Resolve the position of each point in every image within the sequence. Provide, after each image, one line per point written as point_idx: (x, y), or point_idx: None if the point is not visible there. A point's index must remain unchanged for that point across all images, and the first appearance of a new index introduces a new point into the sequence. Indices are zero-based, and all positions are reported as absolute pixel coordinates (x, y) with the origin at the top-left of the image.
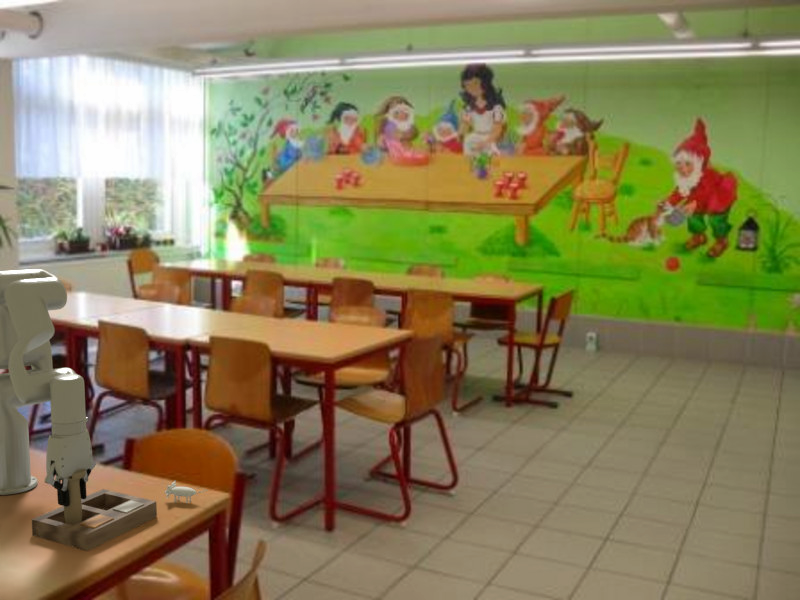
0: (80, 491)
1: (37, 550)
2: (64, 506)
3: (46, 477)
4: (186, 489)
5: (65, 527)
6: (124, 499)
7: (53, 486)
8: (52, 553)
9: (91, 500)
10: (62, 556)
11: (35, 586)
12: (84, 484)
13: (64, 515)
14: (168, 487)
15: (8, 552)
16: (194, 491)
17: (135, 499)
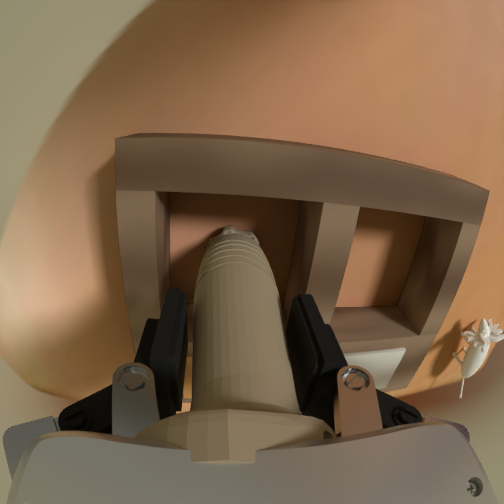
0: (293, 360)
1: (76, 248)
2: (197, 294)
3: (10, 462)
4: (471, 371)
5: (136, 328)
6: (427, 309)
7: (87, 402)
8: (91, 299)
9: (411, 212)
10: (98, 331)
11: (16, 358)
12: (303, 413)
13: (201, 265)
14: (481, 348)
15: (28, 182)
16: (466, 377)
17: (419, 344)
